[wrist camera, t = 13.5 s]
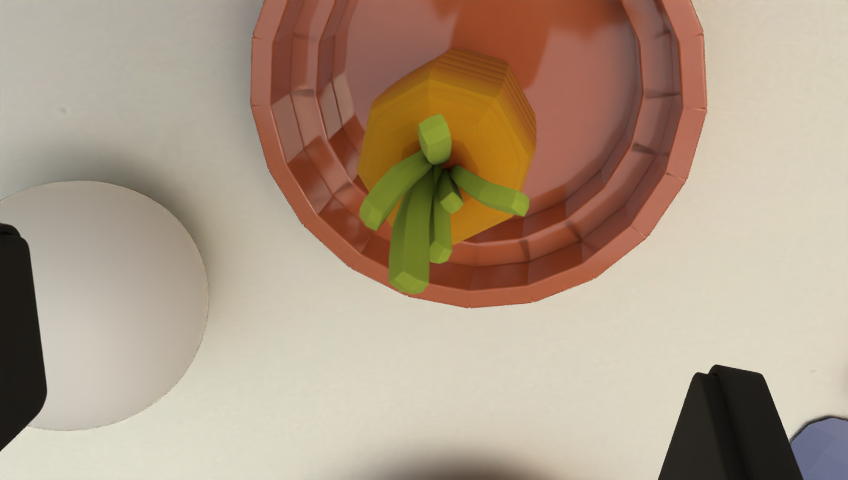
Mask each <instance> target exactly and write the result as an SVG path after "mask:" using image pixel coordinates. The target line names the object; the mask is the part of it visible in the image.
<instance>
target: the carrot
mask: <svg viewBox="0 0 848 480" xmlns="http://www.w3.org/2000/svg"><path fill="white" fill-rule="evenodd" d="M536 135H537V128H536V117H535V113H534V111H533V109H532V107H531V105H530V103H529V102H528V100H527V98H526V96H525V94H524V92H523V91H522V89H521V87H520V85H519V83H518V81H517V79H516V78H515V76H514V74H513V72H512V70H511V68H510V66H509V65H508V63H507V61H504V60H501V59H498V58H494V57H491V56H487V55H484V54H480V53H477V52H473V51H470V50H466V49H463V48H452V49H450V50H448V51H447V52H445V53H443V54H441V55H440V56H438V57H436V58H434V59H433V60H431V61H429V62H428V63H426V64H424V65H422V66H421V67H419V68H417V69H415V70H414V71H412V72H410V73H409V74H407V75H405V76H404V77H402V78H401V79H399V80H398V81H397V82H395V83H394V84H392V85H391V86H390V87H388V88H387V89H386V90H385V91H384V92H383V93H382V94H380V95H379V96H378V97H377V98H376V99H375V100H373V102H372V104H371V107H370V112H369V116H368V121H367V125H366V130H365V134H364V139H363V143H362V148H361V152H360V157H359V162H358V166H357V173H358V175H359V177H360V178H361V180H362V181H363V183H364V185H365V186H366V188H367V189H368V191H369V194H368V195H367V196H366V198H365V199H364V201H363V203H362V205H361V207H360V214H359V216H360V218H361V219H362V221H363V222H364V224H365V225H366V226H367V227H369V228H371V229H373V230H375V231H377V230H378V228H379V227H380V226H381V224H382V223H383V222H384V221H385V219H386V220H387V221H388V223H389V224H390V226H391V227H392V234H391V242H390V251H389V281H388V283H390V284H391V285H392V286H394V287H395V288H396V289H398V290H399V291H400V292H405V293H410V294H417V293H421V292H423V291H424V289H425V288H426V287H427V285H428V284H429V263H430V262H432V263H438V264H441V263H444V262H446V261H448V259H449V256H450V254H451V252H452V245H455V244H457V243H459V242H461V241H463V240H465V239H467V238H469V237H471V236H474V235H476V234H478V233H480V232H482V231H484V230H486V229H488V228H490V227H492V226H495V225H497V224H499V223H501V222H503V221H505V220H507V219H509V218H511V217H512V216H514V215H519V216H525V214H526V212H527V211H528V209H529V200H530V199H529V198H528V197H527V196H526V195H525V194H524V193H522V190H523V187H524V184H525V181H526V178H527V175H528V172H529V169H530V166H531V163H532V160H533V157H534V154H535V151H536Z"/></svg>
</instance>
